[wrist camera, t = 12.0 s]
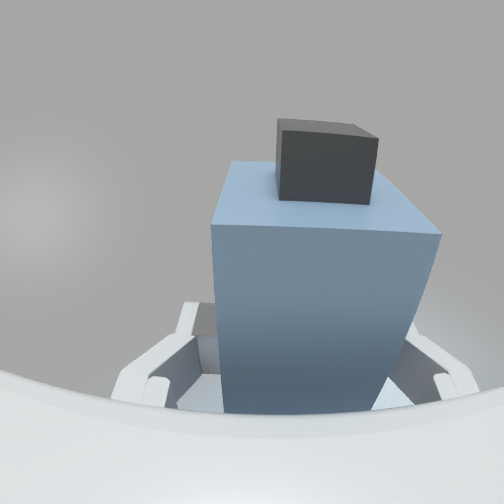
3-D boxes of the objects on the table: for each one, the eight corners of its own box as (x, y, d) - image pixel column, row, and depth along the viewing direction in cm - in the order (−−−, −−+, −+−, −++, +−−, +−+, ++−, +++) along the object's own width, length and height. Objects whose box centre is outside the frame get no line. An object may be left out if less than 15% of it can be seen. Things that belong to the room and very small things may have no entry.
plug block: (322, 399, 16) (381, 123, 9) (331, 474, 12) (458, 162, 5) (236, 398, 16) (232, 112, 9) (230, 475, 12) (208, 140, 5)
